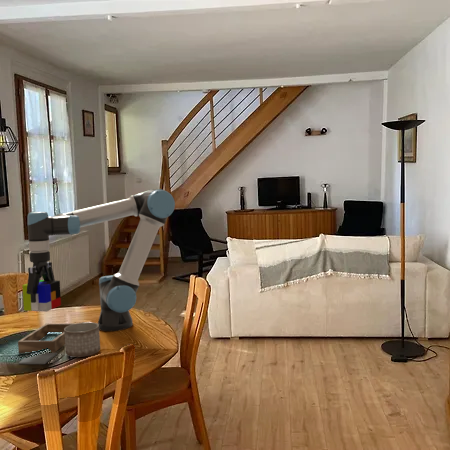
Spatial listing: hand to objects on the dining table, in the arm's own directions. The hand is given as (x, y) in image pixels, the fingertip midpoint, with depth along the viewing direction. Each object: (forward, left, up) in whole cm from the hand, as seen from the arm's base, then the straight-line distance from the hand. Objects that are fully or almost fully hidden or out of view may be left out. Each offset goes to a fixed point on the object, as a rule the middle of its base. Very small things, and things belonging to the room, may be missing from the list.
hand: (42, 306), depth 198 cm
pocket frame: (0, -5, -16) cm, 17 cm away
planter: (-19, +7, -17) cm, 26 cm away
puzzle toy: (0, 0, -1) cm, 1 cm away
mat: (-4, +13, -16) cm, 21 cm away
